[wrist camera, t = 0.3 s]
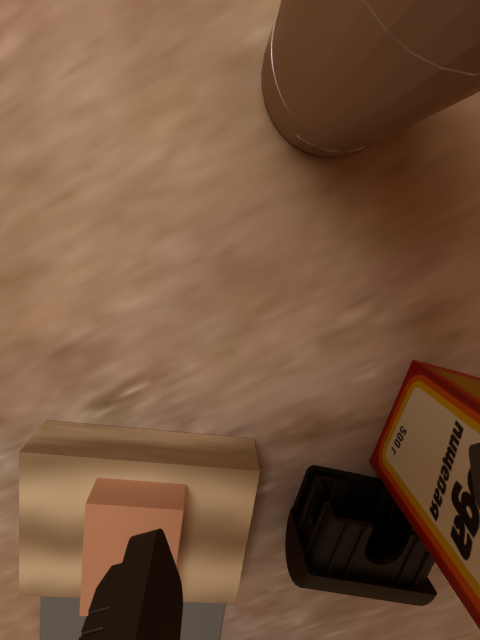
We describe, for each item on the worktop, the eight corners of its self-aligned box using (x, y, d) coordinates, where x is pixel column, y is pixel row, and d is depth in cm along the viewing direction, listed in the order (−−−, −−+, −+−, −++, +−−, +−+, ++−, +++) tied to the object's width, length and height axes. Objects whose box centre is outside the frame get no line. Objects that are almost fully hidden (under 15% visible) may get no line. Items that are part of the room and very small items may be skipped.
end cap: (278, 530, 32) (295, 608, 26) (303, 462, 31) (328, 526, 24) (381, 548, 34) (422, 627, 27) (410, 484, 32) (461, 550, 26)
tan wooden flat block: (45, 420, 28) (19, 452, 24) (253, 438, 30) (260, 471, 26) (43, 548, 31) (19, 595, 27) (232, 558, 32) (235, 603, 29)
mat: (43, 558, 31) (41, 561, 31) (231, 567, 33) (231, 570, 32) (40, 662, 34) (39, 666, 34) (213, 666, 36) (213, 670, 35)
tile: (97, 477, 25) (85, 503, 23) (186, 484, 26) (183, 510, 23) (90, 582, 27) (79, 615, 25) (172, 585, 28) (169, 618, 25)
